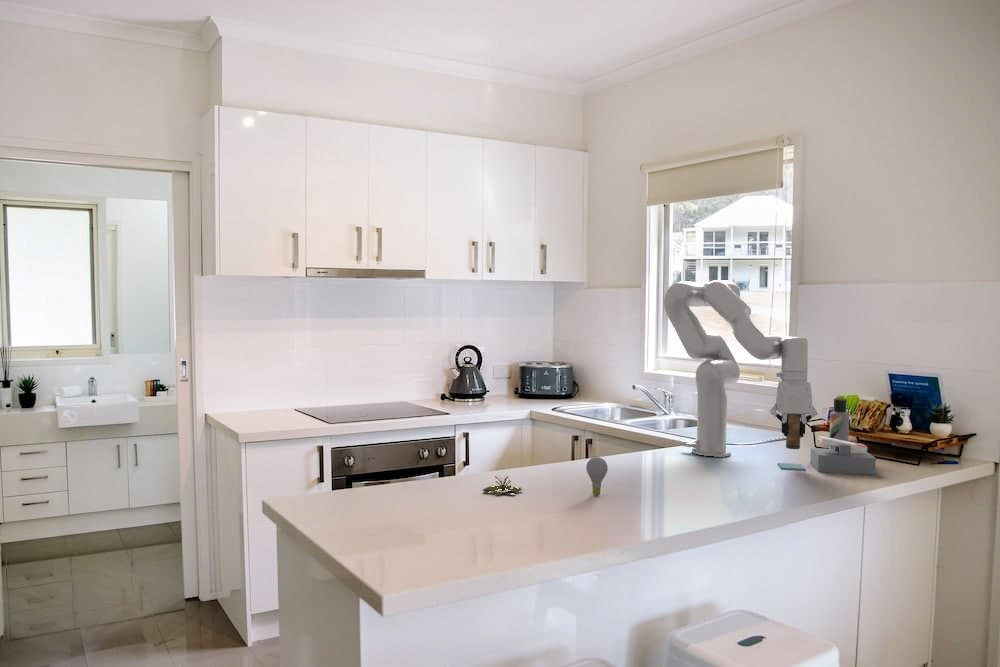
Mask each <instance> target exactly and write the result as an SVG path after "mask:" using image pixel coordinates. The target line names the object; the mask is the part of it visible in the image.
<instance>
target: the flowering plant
mask: <svg viewBox="0 0 1000 667" xmlns="http://www.w3.org/2000/svg"><path fill="white" fill-rule="evenodd" d="M498 476H499V478H498ZM498 476H496V475H494V478H495V479H496V481H495V483H496V485H494V486H495V487H491V486H487V487H485V488H483V490H485V491H483V490H482V491H483V492H482V493H481V494H482V495H483V494H484V493H486V494H489V493H488V492H489V491H494V492H492V494H494V493H495V494H494V495H496V496H497V495H499V496H500V495H503V494H505V488H506V489H508V490H511V492H515V493H514V494H515V495H516V494H517V492H518V493H520V492H519V491H522V490H521V489H517V488H515V487H516V486H512V485H511V484H510V483H511V482H512V480H511V479H509V478H510V476H509V475H507V476H506V477H504V478H502V477H500V475H498ZM497 479H498V481H499V482H498V481H497ZM507 479H509V480H508V481H507ZM497 484H499V485H497ZM509 484H510V485H509ZM506 486H507V487H506ZM497 487H498V488H497ZM511 487H513V489H510V488H511ZM498 489H502V490H501V492H500V491H498V492H497V491H495V490H498ZM502 491H504V492H502ZM508 493H510V491H509V492H508ZM484 495H485V494H484Z"/></svg>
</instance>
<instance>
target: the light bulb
mask: <svg viewBox="0 0 1000 667" xmlns="http://www.w3.org/2000/svg"><path fill="white" fill-rule="evenodd" d="M585 466H586V468H585V469H586V473H587V474H588V476H589V478H590V480H591V487H592V494H593V495H594V496H595V495H598V496H599V495H601V488H602V482H603V480H604V478H605V477H606V475H607V473H608V469H609V468H608V467H609V466H608V463H607V461H606V460H605V459H604V458H602V457H599V456H596V457H592V458H590V459H589V460H588V462H587V463H586V465H585Z"/></svg>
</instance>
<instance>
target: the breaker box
mask: <svg viewBox="0 0 1000 667" xmlns="http://www.w3.org/2000/svg"><path fill="white" fill-rule="evenodd" d="M809 455H810V456H809V457H810V458H809V462H810V463H809V464H810V465H811V466H812V467H813V468H814V469H815V470H816V471H817V472H818V473H835V474H855V475H872V476H876V464H877V463H876V462H877V461H876V460H877V459H876V457H875V456H873V455H872V454H871V453H869V452H868V451H867V452H862V451H857V450H852V449H851V445H839V447H838V446H834V449H829V448H820V447H810V454H809Z"/></svg>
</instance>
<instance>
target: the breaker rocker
mask: <svg viewBox="0 0 1000 667" xmlns="http://www.w3.org/2000/svg"><path fill="white" fill-rule="evenodd" d="M818 441H819V443H821V444H823V445H824V444H825V445H834V446H838V447H839V445H851V450H857V451H862V452H868V445H865V444H864V443H859V442H851V441H849V440H848V441H843V440H838V439H833V438H830V436H823V435H818Z"/></svg>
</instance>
